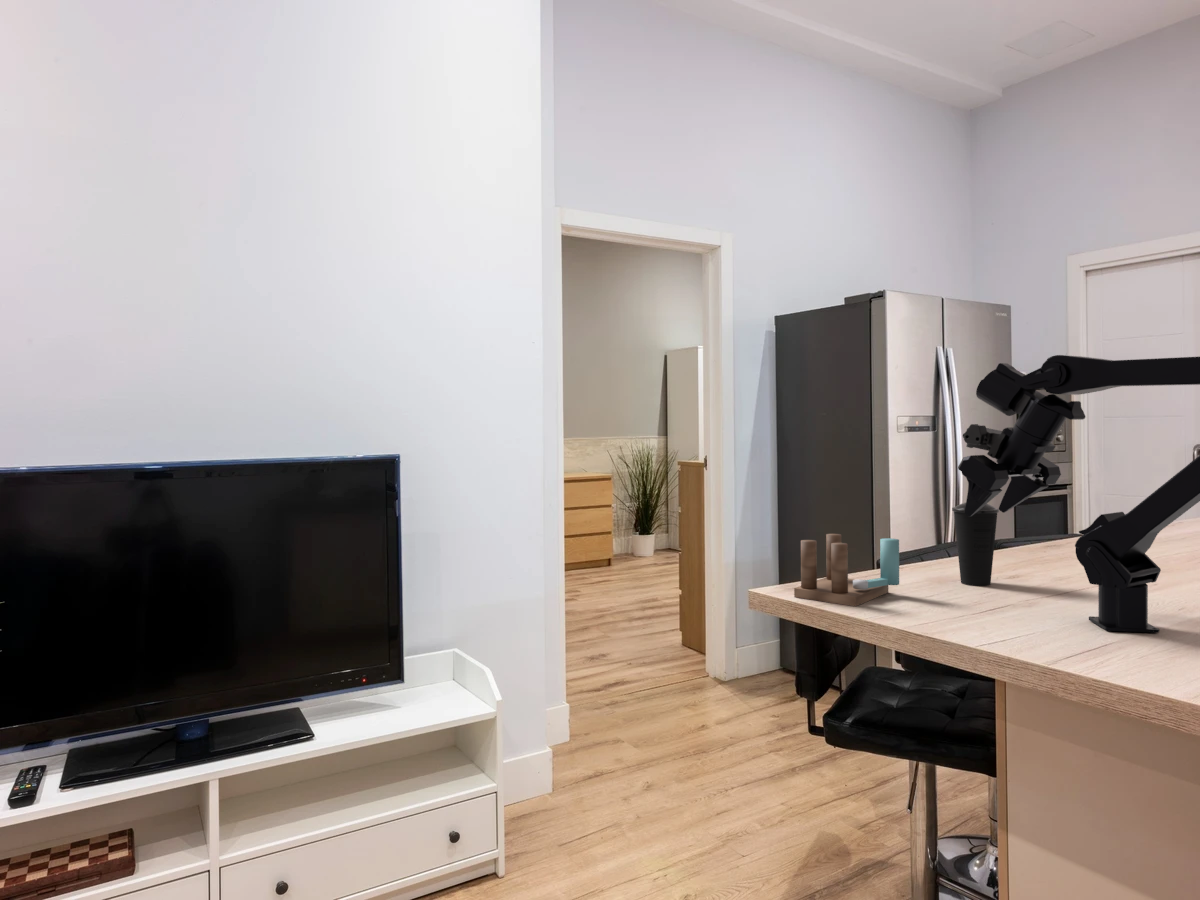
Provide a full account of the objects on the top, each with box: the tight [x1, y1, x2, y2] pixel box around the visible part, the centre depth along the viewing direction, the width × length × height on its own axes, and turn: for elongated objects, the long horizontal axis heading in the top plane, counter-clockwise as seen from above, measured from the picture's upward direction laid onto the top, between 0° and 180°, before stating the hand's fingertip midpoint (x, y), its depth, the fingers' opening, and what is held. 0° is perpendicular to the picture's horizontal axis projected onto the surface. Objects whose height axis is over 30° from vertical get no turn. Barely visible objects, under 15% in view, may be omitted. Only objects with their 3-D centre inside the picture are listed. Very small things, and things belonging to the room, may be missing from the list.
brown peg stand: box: [793, 533, 889, 607], centre depth 130 cm, size 11×13×10 cm
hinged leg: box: [853, 537, 900, 590], centre depth 127 cm, size 10×3×8 cm, turn 118°
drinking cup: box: [951, 502, 1000, 587], centre depth 137 cm, size 8×8×20 cm
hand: (984, 513), depth 124 cm, fingers open, 9 cm apart
